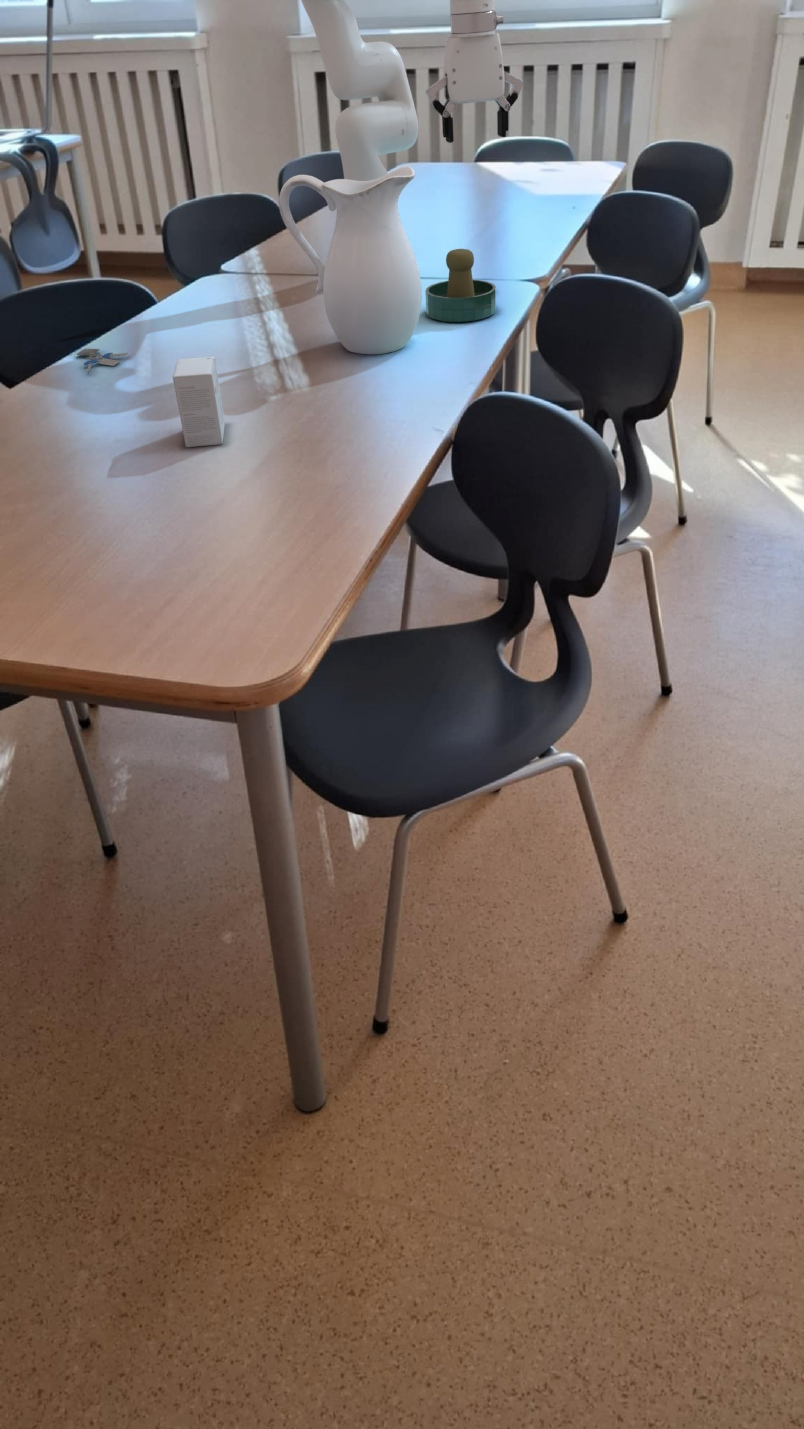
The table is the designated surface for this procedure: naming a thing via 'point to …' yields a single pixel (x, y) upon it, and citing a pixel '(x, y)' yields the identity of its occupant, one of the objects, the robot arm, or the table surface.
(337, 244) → the pitcher
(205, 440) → the small box
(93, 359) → the key chain
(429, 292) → the bowl
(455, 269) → the cork
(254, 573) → the table surface
